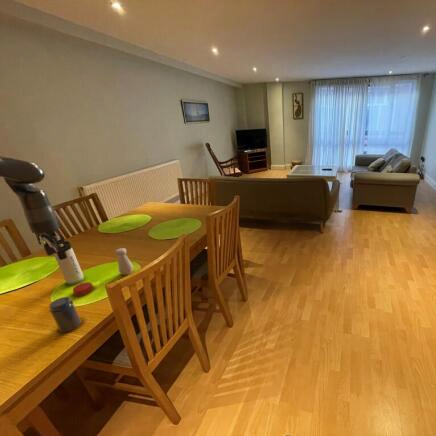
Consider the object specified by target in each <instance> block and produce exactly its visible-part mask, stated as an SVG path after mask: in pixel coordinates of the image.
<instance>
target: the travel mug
mask: <svg viewBox="0 0 436 436" xmlns="http://www.w3.org/2000/svg"><path fill="white" fill-rule="evenodd" d="M64 241H65V244H66V246H67V249H64V250H65V253H66V255H67V258H66V259H63V260H60V259H59V258H58V255H57V253H56V251H55V249H54V248H53V249H54V251H55V254H53V256H54V259H55V261H56V263H57V265H58V268H59V269H60V272H61V274H62V276H63V279H64V281H65V283H66V285H69V286H72V285H78V284H80V283H81V282H83V281H84V279H85V276H84V273H83V271H82V269H81V266H80V263H79V261H78V259H77V257H76V254H75V252H74V249H73V247H72V245H71V242H70V241H68V240H64ZM54 244H55V243H54ZM62 245H63V244H62ZM59 247H60V245H59Z"/></svg>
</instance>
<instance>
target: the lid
mask: <svg viewBox="0 0 436 436" xmlns="http://www.w3.org/2000/svg"><path fill="white" fill-rule="evenodd" d="M93 290H94V285H93V284H92V282H90V281H88V282H87V281H86V282H82V283H81V282H80V283H78V284H76V285H75V286H74V287H73V288H72V292H73V294H74V295H75V296H76V297H81V296H85V295H88V294H90V293H91V292H92V291H93Z"/></svg>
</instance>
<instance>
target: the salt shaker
mask: <svg viewBox="0 0 436 436" xmlns="http://www.w3.org/2000/svg"><path fill="white" fill-rule="evenodd" d="M114 254H115V255H116V257H117V264H118V272H119V273H120V274H121V275H123V276H128V275H130V274H132V273H133V272H134V271H133V270H134V265H133V263H132V262H131V260H130V259H129V257H128V255H127V249H126V248H125V247H119V248H117V249H115V251H114Z"/></svg>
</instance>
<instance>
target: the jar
mask: <svg viewBox="0 0 436 436" xmlns="http://www.w3.org/2000/svg"><path fill="white" fill-rule="evenodd" d="M49 313H50V315H51V317H52V319H53V320H54V322H55V324H56V327H57V328H58V331H59V332H60V333H63V334H64V333H65V334H66V333H69V332H71V331H74V330H76V329H77V328H78V327H79V326H81V324H82V319H81V318H80V315H79V312H78V310H77V308H76V306H75V304H74V302H73V300H71V299H70V297H68V296H62V297H59V298H57V299H54V300H53V301H52V302H51V303H49Z"/></svg>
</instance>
